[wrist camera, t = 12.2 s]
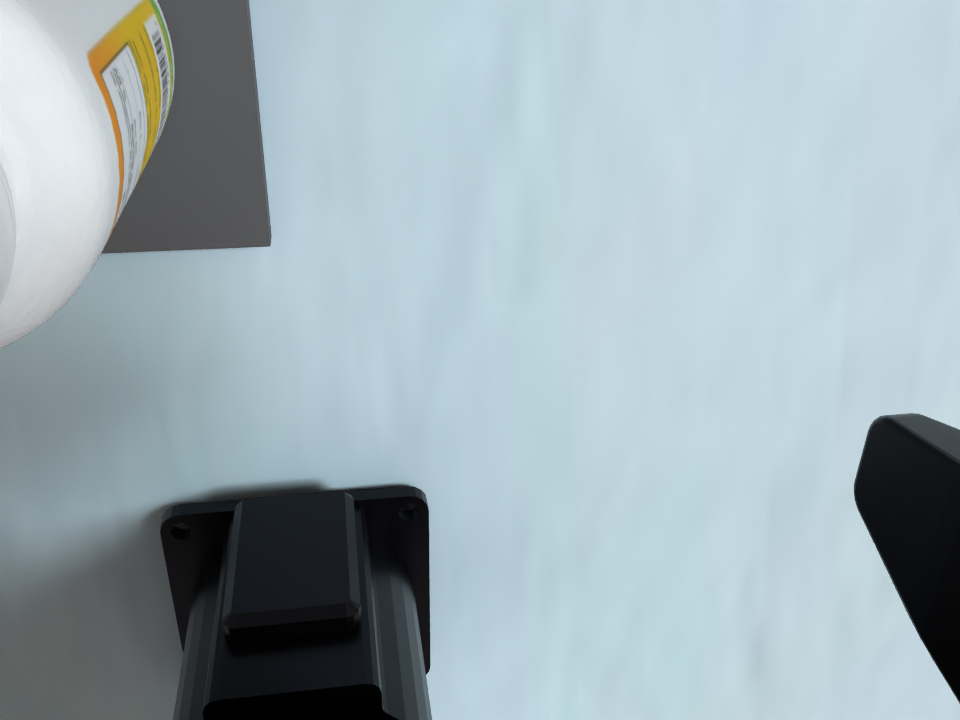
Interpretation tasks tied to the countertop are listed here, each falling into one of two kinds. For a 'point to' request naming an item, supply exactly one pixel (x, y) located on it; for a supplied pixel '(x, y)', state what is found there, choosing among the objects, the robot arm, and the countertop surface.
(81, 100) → the supplement bottle
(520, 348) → the countertop surface
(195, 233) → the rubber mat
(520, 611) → the countertop surface
